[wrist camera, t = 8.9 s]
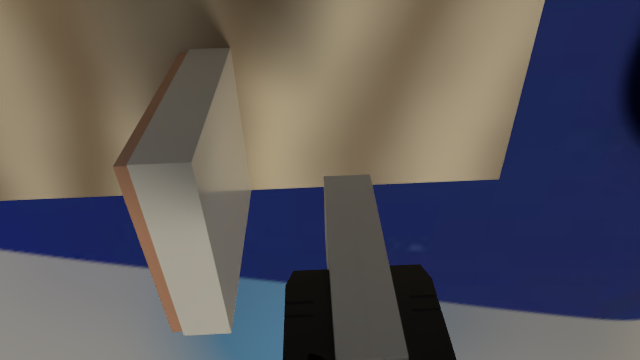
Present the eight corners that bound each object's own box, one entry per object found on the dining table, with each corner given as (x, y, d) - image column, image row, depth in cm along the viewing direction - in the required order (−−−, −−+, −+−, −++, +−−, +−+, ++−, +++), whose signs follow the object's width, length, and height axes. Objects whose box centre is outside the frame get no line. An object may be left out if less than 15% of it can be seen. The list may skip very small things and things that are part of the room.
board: (6, 192, 22) (-1, 200, 22) (-272, -310, 12) (-295, -317, 12) (494, 171, 23) (498, 179, 22) (619, -334, 12) (632, -342, 12)
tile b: (209, 191, 22) (172, 336, 15) (179, 49, 18) (110, 165, 11) (251, 189, 22) (230, 333, 15) (230, 47, 18) (191, 162, 11)
